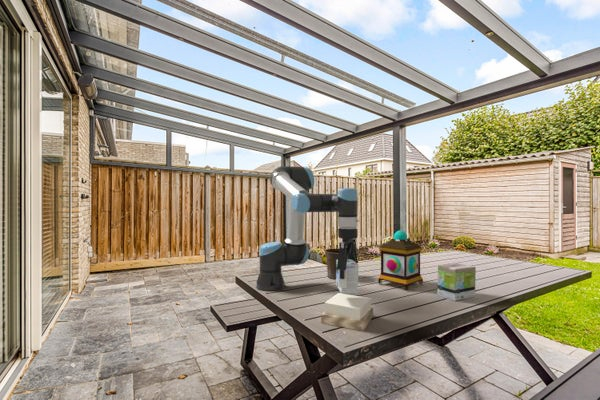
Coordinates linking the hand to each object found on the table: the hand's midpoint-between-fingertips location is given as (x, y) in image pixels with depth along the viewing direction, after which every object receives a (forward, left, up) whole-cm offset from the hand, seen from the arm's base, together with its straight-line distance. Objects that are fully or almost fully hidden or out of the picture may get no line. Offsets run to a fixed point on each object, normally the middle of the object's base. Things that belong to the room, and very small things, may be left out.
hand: (347, 283), depth 117 cm
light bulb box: (0, 0, -3) cm, 3 cm away
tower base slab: (0, 0, -15) cm, 15 cm away
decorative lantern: (+12, +59, -14) cm, 62 cm away
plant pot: (-24, +59, -14) cm, 65 cm away
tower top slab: (0, 0, -11) cm, 11 cm away
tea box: (+39, +50, -14) cm, 65 cm away
